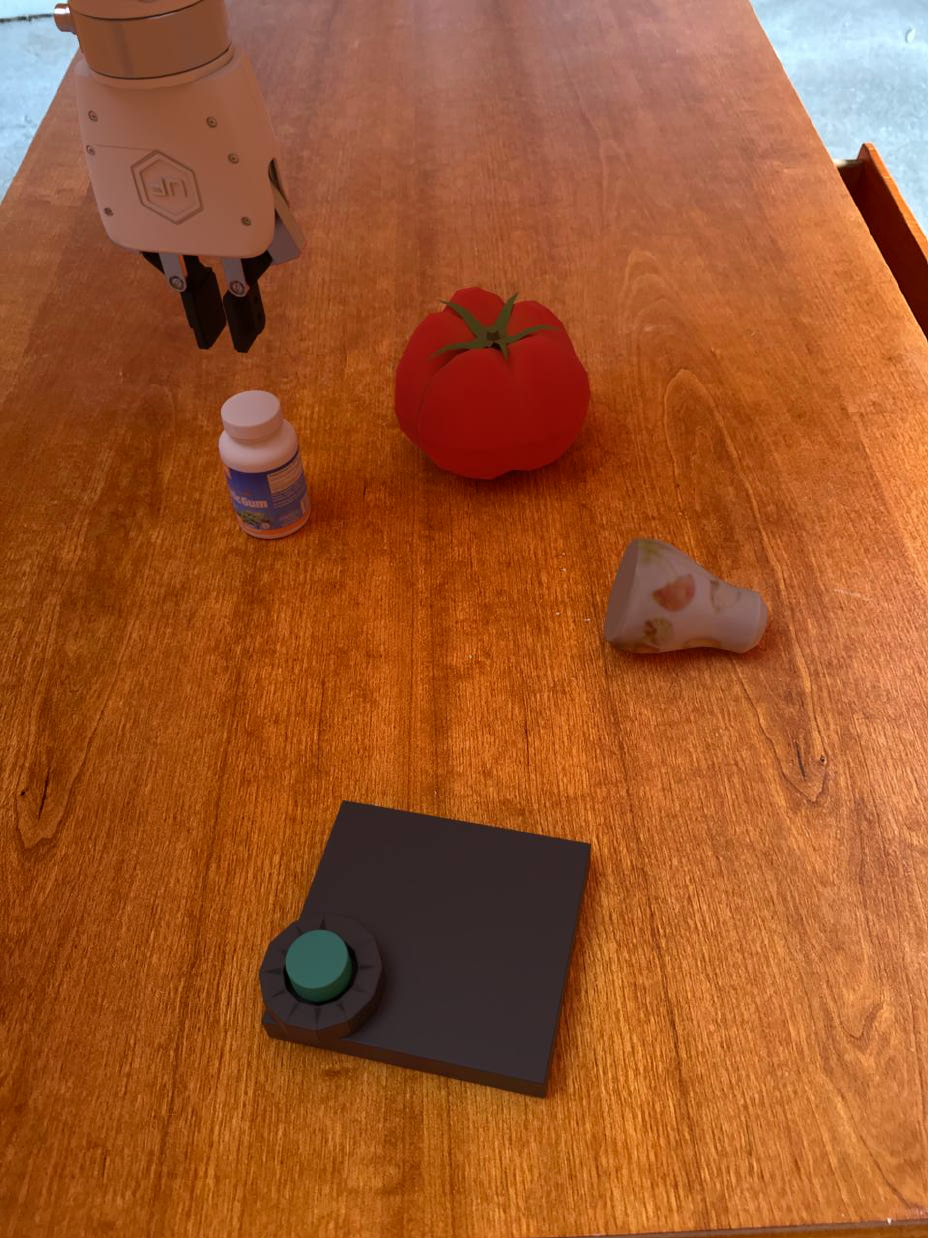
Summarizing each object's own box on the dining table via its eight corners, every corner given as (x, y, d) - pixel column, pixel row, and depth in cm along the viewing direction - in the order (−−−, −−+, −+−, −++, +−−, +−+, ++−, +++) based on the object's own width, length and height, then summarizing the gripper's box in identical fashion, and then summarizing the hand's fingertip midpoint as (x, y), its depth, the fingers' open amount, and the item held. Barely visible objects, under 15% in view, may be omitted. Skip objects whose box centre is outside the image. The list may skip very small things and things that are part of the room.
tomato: (609, 488, 83) (615, 350, 74) (416, 523, 81) (399, 388, 73) (562, 382, 92) (562, 249, 83) (387, 413, 90) (369, 280, 82)
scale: (256, 1044, 56) (241, 1014, 54) (339, 816, 65) (330, 781, 63) (543, 1109, 53) (542, 1081, 51) (590, 861, 62) (592, 826, 60)
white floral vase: (777, 687, 70) (712, 608, 63) (634, 697, 75) (560, 625, 68) (787, 582, 73) (726, 495, 66) (649, 599, 79) (580, 521, 72)
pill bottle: (222, 520, 83) (191, 412, 76) (277, 481, 85) (251, 373, 78) (273, 552, 80) (245, 443, 73) (328, 510, 83) (306, 401, 76)
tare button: (282, 995, 55) (276, 981, 54) (302, 938, 57) (297, 924, 56) (341, 1008, 54) (336, 994, 53) (360, 950, 56) (355, 935, 55)
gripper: (-20, 55, 57) (91, 362, 71) (274, 66, 54) (331, 386, 68) (50, -1, 62) (142, 296, 76) (324, 6, 59) (368, 315, 72)
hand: (231, 336), depth 72 cm, fingers closed
